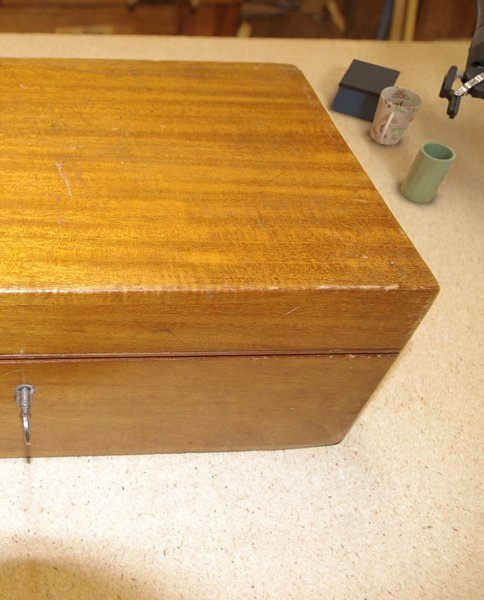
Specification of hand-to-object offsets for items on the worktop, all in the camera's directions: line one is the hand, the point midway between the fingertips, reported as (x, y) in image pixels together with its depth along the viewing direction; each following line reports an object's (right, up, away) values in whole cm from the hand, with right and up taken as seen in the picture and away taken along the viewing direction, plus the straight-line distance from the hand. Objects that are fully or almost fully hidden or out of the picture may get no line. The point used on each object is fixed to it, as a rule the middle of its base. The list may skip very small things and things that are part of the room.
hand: (477, 122), depth 128 cm
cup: (-4, -11, +13) cm, 17 cm away
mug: (-5, +2, +25) cm, 25 cm away
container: (-5, +13, +35) cm, 38 cm away
